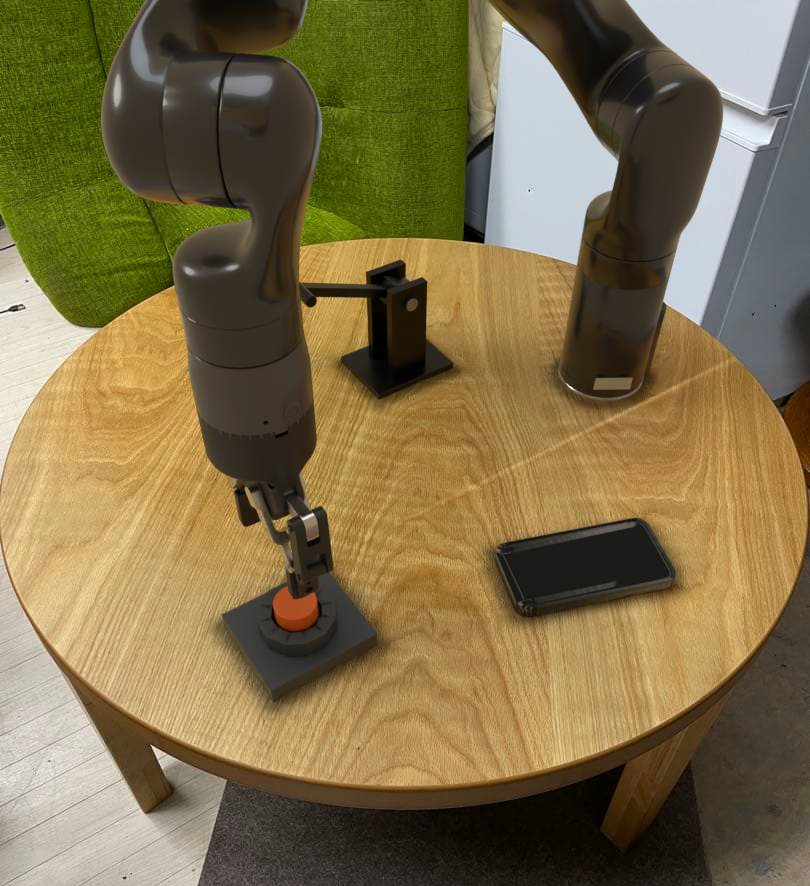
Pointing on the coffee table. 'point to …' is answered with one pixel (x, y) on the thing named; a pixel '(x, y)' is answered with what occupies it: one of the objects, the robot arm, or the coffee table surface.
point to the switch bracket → (396, 337)
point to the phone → (583, 566)
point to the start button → (295, 611)
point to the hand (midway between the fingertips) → (278, 555)
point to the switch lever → (349, 290)
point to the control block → (299, 638)
